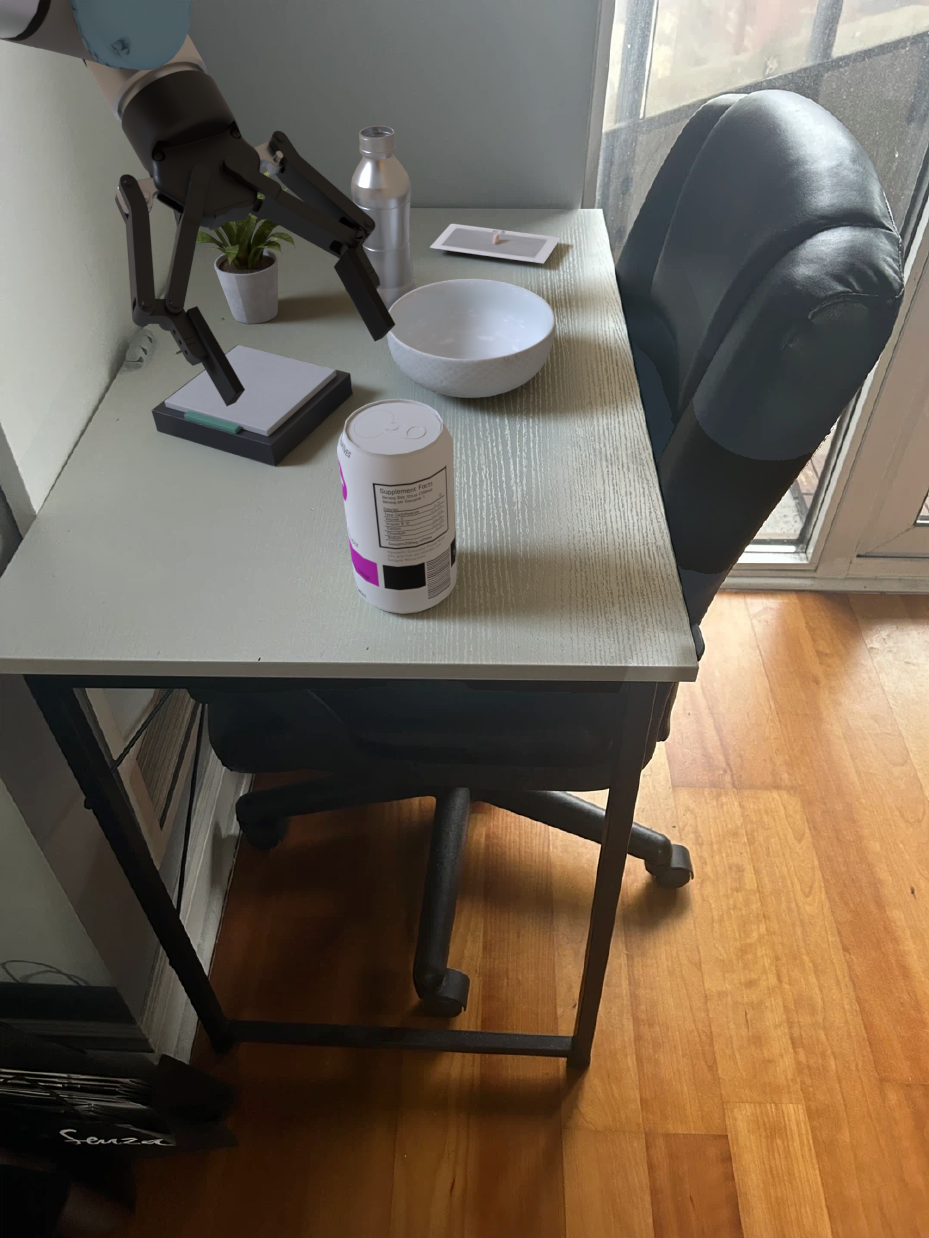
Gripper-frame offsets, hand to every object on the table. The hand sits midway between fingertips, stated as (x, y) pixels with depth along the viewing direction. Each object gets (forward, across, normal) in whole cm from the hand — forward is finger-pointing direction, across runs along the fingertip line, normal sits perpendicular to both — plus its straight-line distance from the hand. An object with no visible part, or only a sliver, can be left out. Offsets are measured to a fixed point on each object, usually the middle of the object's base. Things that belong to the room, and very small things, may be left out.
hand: (314, 365), depth 70 cm
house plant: (-16, +15, +38) cm, 44 cm away
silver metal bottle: (-7, +27, +30) cm, 41 cm away
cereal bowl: (+4, +25, +19) cm, 31 cm away
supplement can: (+18, 0, +4) cm, 19 cm away
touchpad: (-11, +48, +33) cm, 59 cm away
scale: (-3, +5, +26) cm, 26 cm away
